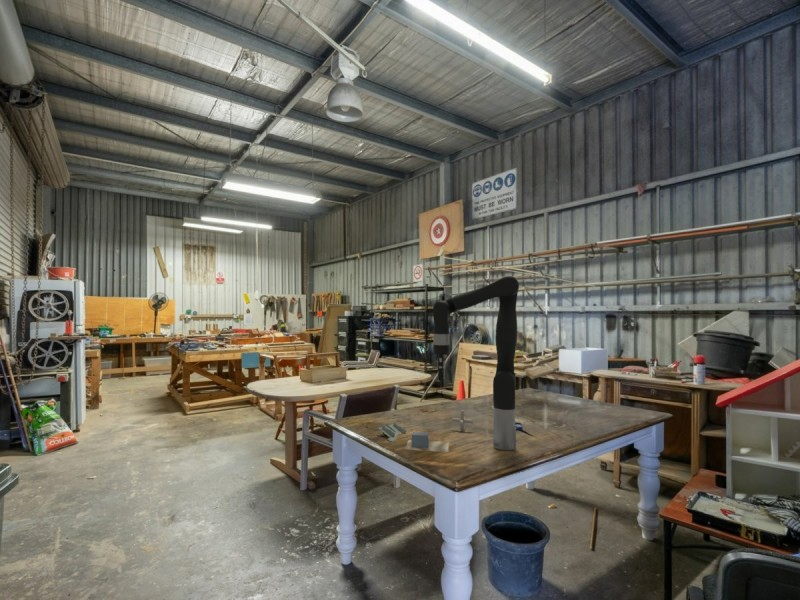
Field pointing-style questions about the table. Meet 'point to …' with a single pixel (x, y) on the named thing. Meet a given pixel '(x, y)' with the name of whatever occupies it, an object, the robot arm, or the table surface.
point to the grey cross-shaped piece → (462, 420)
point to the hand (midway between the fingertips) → (441, 379)
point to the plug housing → (420, 440)
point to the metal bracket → (392, 431)
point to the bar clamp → (519, 426)
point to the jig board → (430, 446)
